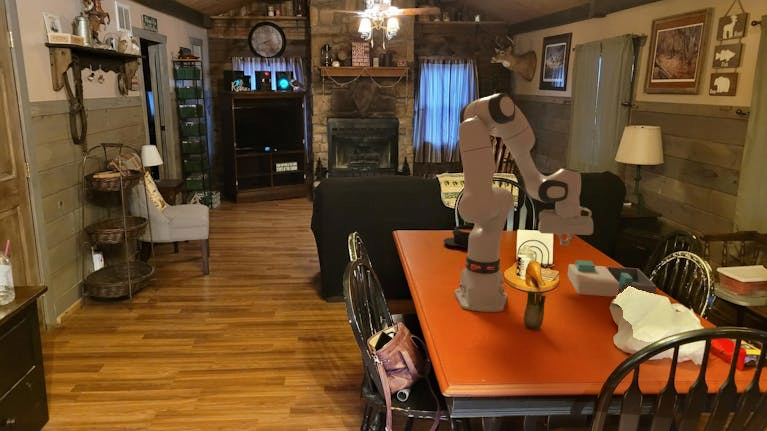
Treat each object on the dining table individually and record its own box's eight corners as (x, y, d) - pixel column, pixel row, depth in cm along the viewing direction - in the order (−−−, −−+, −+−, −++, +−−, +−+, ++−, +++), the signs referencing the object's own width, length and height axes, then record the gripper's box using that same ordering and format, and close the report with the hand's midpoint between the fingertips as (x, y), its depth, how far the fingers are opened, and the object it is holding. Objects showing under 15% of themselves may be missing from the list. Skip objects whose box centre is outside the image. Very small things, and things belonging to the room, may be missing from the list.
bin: (654, 299, 197) (656, 286, 196) (618, 296, 199) (620, 283, 198) (636, 280, 217) (638, 268, 216) (604, 278, 218) (605, 266, 217)
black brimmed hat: (490, 240, 269) (491, 224, 267) (500, 251, 251) (502, 234, 249) (440, 240, 267) (441, 223, 265) (446, 251, 249) (447, 233, 247)
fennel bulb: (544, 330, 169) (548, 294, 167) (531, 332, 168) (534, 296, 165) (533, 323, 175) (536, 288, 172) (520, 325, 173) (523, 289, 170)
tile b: (594, 272, 210) (595, 265, 209) (578, 271, 211) (579, 264, 210) (590, 267, 216) (591, 261, 215) (575, 266, 217) (575, 260, 216)
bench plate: (617, 296, 199) (619, 283, 198) (578, 294, 201) (579, 281, 199) (603, 278, 218) (605, 266, 217) (567, 275, 220) (568, 264, 219)
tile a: (623, 293, 200) (630, 293, 200) (625, 277, 199) (632, 278, 199) (618, 287, 206) (625, 288, 206) (620, 272, 205) (627, 273, 204)
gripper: (540, 211, 208) (538, 245, 211) (596, 212, 206) (592, 247, 209) (537, 207, 214) (535, 241, 217) (591, 209, 212) (588, 243, 215)
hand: (564, 244), depth 213 cm, fingers closed
